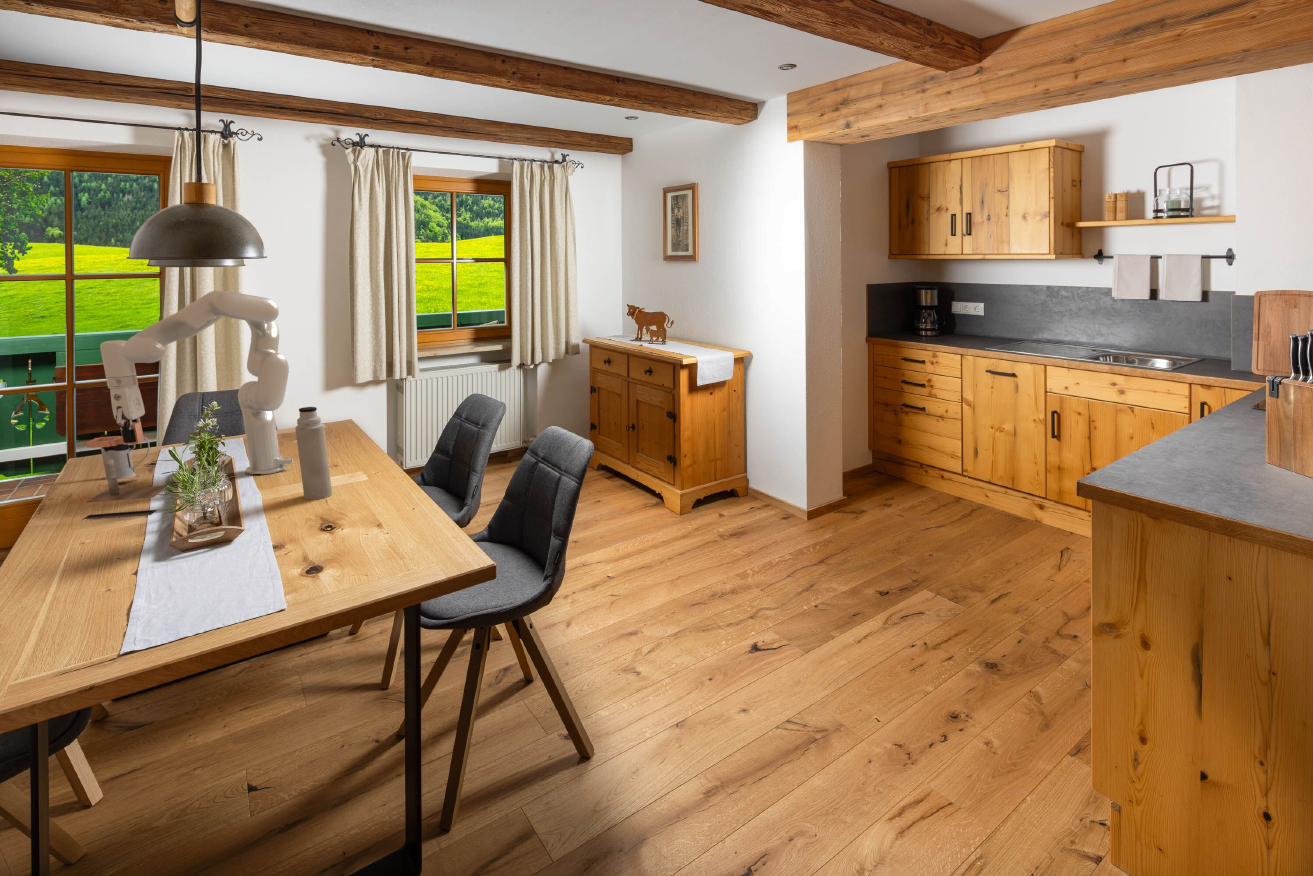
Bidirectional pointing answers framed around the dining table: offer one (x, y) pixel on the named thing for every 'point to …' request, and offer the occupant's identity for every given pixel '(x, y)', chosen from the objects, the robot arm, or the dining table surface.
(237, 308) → the robot arm
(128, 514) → the slate mat
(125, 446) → the grey mug
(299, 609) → the dining table surface
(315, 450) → the thermos bottle
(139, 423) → the pink l-shaped piece
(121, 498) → the stand
